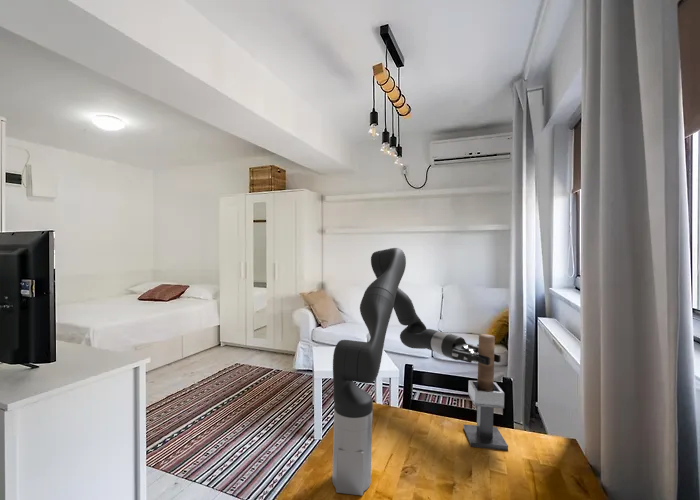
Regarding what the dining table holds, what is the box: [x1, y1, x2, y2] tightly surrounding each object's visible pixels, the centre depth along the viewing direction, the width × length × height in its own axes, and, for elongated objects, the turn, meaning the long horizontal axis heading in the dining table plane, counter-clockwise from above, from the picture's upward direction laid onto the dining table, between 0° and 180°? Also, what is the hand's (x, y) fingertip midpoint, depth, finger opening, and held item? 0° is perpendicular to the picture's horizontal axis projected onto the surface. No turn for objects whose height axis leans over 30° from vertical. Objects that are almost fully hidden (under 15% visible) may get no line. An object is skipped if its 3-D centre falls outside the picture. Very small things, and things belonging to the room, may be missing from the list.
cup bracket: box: [462, 380, 509, 451], centre depth 98 cm, size 10×10×16 cm
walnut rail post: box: [477, 333, 496, 391], centre depth 98 cm, size 4×4×16 cm
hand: (494, 360), depth 96 cm, fingers closed on walnut rail post, 4 cm apart
